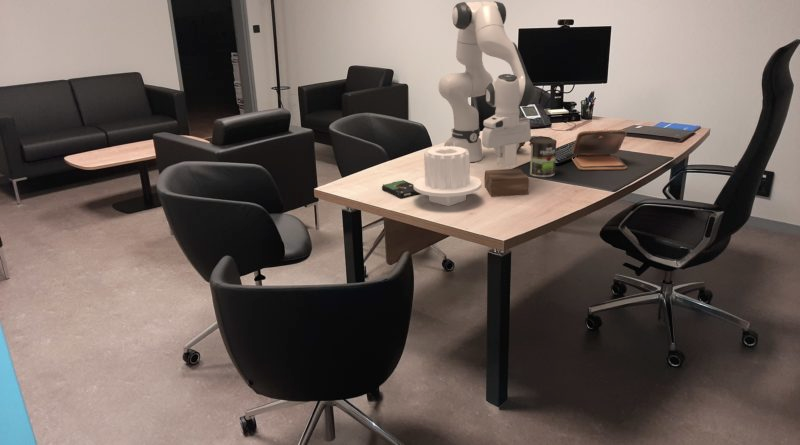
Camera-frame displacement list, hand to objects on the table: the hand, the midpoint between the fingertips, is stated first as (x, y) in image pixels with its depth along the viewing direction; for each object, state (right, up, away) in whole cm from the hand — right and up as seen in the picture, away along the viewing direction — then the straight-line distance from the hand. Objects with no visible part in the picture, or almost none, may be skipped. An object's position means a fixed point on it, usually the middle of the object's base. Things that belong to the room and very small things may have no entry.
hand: (506, 156), depth 237 cm
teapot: (+13, +9, +61) cm, 63 cm away
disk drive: (-39, -14, +9) cm, 43 cm away
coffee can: (+19, -5, +24) cm, 31 cm away
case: (+46, 0, +35) cm, 57 cm away
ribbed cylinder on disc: (-23, -17, -3) cm, 28 cm away
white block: (0, -3, +1) cm, 3 cm away
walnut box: (+1, -13, +5) cm, 14 cm away
